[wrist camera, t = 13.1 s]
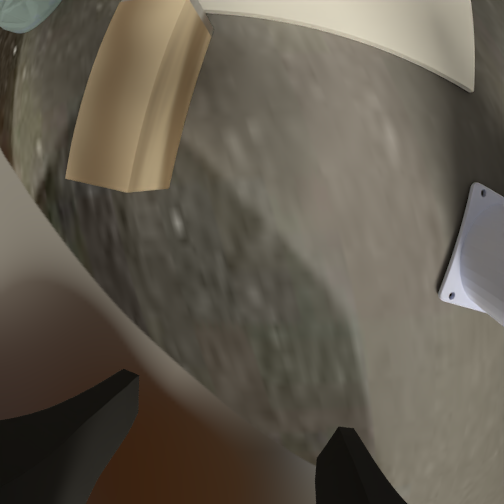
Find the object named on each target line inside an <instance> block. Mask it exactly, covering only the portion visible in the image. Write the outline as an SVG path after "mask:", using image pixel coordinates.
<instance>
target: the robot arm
mask: <svg viewBox="0 0 504 504" xmlns="http://www.w3.org/2000/svg"><path fill="white" fill-rule="evenodd" d="M482 190H483V196H482V195H481V191H482ZM451 292H452V295H451V297H449V294H450V293H451ZM438 296H439V298H440V299H441V300H442V301H445V302H448V303H452V304H456V305H459V306H463V307H467V308H470V309H474V310H477V311H481V312H485V313H487V314H489V315H490V316H491V317H492V318H494V319H495V320H496V321H497V322H499V323H500V324H501V325H502V326H504V197H503V196H501V195H500V194H498V193H496V192H494V191H493V190H491V189H489V188H488V187H486V186H484V185H482V184H481V183H477V182H475V183H473V184H472V185H471V188H470V192H469V197H468V201H467V205H466V209H465V213H464V217H463V220H462V224H461V228H460V231H459V234H458V238H457V241H456V244H455V247H454V251H453V254H452V257H451V260H450V262H449V265H448V268H447V271H446V274H445V276H444V279H443V282H442V284H441V287H440V289H439V293H438ZM138 391H139V375H137V374H135V373H132V372H129V371H127V370H125V369H123V370H121V371H119V372H117V373H116V374H114V375H112V376H111V377H109V378H108V379H106V380H104V381H102V382H101V383H99V384H97V385H95V386H94V387H92V388H90V389H88V390H86V391H85V392H82V393H81V394H79V395H77V396H75V397H73V398H70V399H68V400H66V401H64V402H62V403H59V404H57V405H55V406H52V407H50V408H47V409H44V410H41V411H38V412H35V413H32V414H28V415H24V416H20V417H16V418H11V419H5V420H0V504H86V502H87V500H88V497H89V495H90V493H91V491H92V489H93V487H94V485H95V483H96V481H97V479H98V478H99V476H100V474H101V473H102V471H103V470H104V468H105V467H106V465H107V464H108V462H109V461H110V459H111V458H112V456H113V455H114V453H115V452H116V450H117V449H118V447H119V446H120V444H121V443H122V441H123V440H124V438H125V437H126V435H127V434H128V432H129V430H130V428H131V426H132V424H133V422H134V420H135V418H136V416H137V414H138ZM315 489H316V504H407V503H406V502H405V501H404V500H403V499H402V497H401V496H400V495H399V494H398V493H397V492H396V490H395V489H394V488H393V486H392V485H391V484H390V483H389V481H388V480H387V479H386V477H385V476H384V474H383V473H382V472H381V470H380V469H379V467H378V466H377V464H376V463H375V461H374V460H373V458H372V457H371V455H370V453H369V452H368V450H367V449H366V447H365V445H364V444H363V442H362V441H361V439H360V437H359V436H358V434H357V433H356V431H355V430H354V428H346V427H338V428H337V430H336V431H335V433H334V434H333V436H332V437H331V439H330V440H329V442H328V443H327V445H326V446H325V447H324V449H323V450H322V452H321V453H320V454H319V456H318V457H317V463H316V475H315Z"/></svg>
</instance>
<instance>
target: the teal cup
mask: <svg viewBox="0 0 504 504" xmlns="http://www.w3.org/2000/svg"><path fill="white" fill-rule="evenodd" d="M61 1H62V0H0V27H2V28H3V29H5V30H8V31H11V32H15V33H26V32H28V31H30V30H32V29H34V28H35V27H36V26H38V25H39V24H40V23H41V22H43V21H44V20H45V19H46V18H47V17H48V16H49V15H50V14H51V13H52V12H53V11H54V10H55V8H56V7H57V6H58V5H59V4H60V2H61Z"/></svg>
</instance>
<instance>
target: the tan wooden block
mask: <svg viewBox="0 0 504 504" xmlns="http://www.w3.org/2000/svg"><path fill="white" fill-rule="evenodd" d="M213 31H214V28H213V27H212V25H211V23H210V21H209V19H208V17H207V15H206V14H205V12H204V10H203V8H202V6H201V5H200V3H199V1H198V0H122V1H121V2H120V3H119V5H118V7H117V9H116V11H115V13H114V15H113V18H112V20H111V22H110V24H109V26H108V29H107V31H106V33H105V36H104V38H103V41H102V43H101V46H100V48H99V51H98V54H97V56H96V59H95V62H94V65H93V67H92V70H91V73H90V76H89V79H88V83H87V86H86V89H85V92H84V96H83V99H82V103H81V106H80V110H79V114H78V118H77V122H76V126H75V130H74V135H73V139H72V144H71V149H70V154H69V160H68V166H67V172H66V178H65V179H70V180H74V181H79V182H83V183H88V184H92V185H97V186H101V187H105V188H110V189H114V190H118V191H123V192H127V193H129V192H138V191H147V190H157V189H168V188H169V185H170V180H171V176H172V171H173V167H174V163H175V159H176V154H177V150H178V146H179V142H180V138H181V134H182V130H183V127H184V123H185V119H186V116H187V112H188V108H189V105H190V101H191V98H192V95H193V91H194V88H195V85H196V82H197V78H198V75H199V72H200V69H201V66H202V63H203V60H204V57H205V54H206V51H207V48H208V45H209V42H210V40H211V36H212V33H213Z"/></svg>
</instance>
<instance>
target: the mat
mask: <svg viewBox="0 0 504 504" xmlns="http://www.w3.org/2000/svg"><path fill="white" fill-rule="evenodd" d="M198 1H199V3H200V5H201V6H202V8H203V10H204V12H205V13H210V14H226V15H237V16H246V17H254V18H261V19H268V20H274V21H280V22H285V23H290V24H295V25H300V26H305V27H309V28H313V29H317V30H321V31H325V32H329V33H332V34H336V35H339V36H343V37H346V38H349V39H352V40H356V41H359V42H362V43H365V44H367V45H370V46H373V47H376V48H378V49H381V50H384V51H386V52H389V53H391V54H394V55H396V56H399V57H401V58H403V59H406V60H408V61H410V62H412V63H415V64H417V65H419V66H421V67H423V68H425V69H427V70H429V71H431V72H433V73H435V74H437V75H439V76H441V77H443V78H445V79H447V80H448V81H450V82H452V83H454V84H456V85H457V86H459V87H461V88H463V89H464V90H466V91H468V92H469V93H471V92H474V77H475V47H474V27H473V16H472V6H471V0H198Z"/></svg>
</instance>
